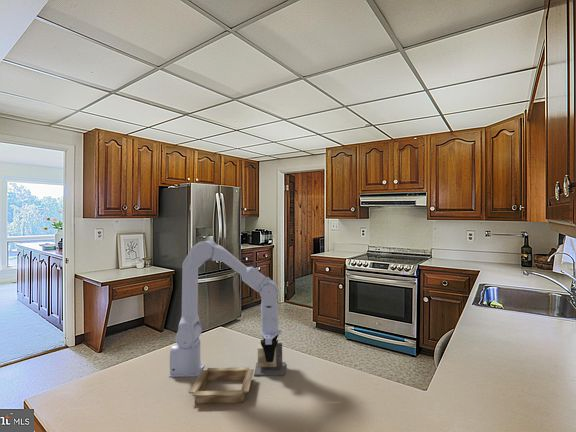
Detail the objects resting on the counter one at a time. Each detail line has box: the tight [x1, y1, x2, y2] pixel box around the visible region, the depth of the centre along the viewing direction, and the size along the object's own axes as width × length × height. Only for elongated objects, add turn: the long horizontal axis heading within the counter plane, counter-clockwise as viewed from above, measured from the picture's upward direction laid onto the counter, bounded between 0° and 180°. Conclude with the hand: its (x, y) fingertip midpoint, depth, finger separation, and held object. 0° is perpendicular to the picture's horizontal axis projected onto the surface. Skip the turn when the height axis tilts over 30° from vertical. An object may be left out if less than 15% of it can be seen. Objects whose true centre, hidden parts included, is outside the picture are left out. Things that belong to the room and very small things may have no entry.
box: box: [257, 342, 283, 367], centre depth 107 cm, size 8×4×6 cm, turn 91°
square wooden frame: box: [188, 366, 255, 404], centre depth 94 cm, size 16×16×3 cm
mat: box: [253, 361, 286, 377], centre depth 107 cm, size 10×9×1 cm
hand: (270, 358), depth 107 cm, fingers closed on box, 4 cm apart
